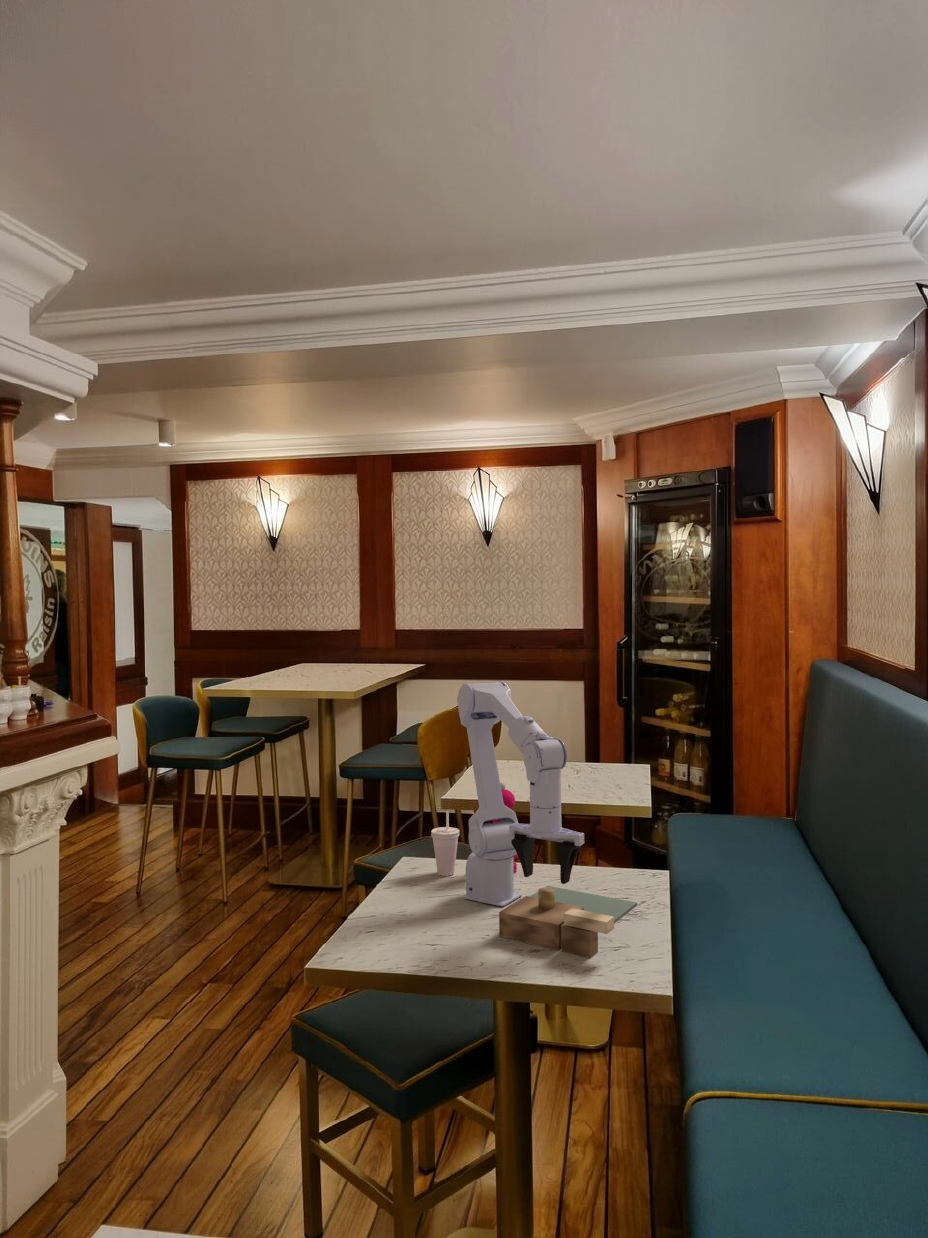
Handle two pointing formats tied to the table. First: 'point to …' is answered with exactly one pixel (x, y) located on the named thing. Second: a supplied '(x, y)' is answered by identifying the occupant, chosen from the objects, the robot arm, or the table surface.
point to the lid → (538, 910)
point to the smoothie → (445, 847)
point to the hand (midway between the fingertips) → (546, 879)
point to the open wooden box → (552, 937)
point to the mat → (593, 902)
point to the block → (589, 920)
